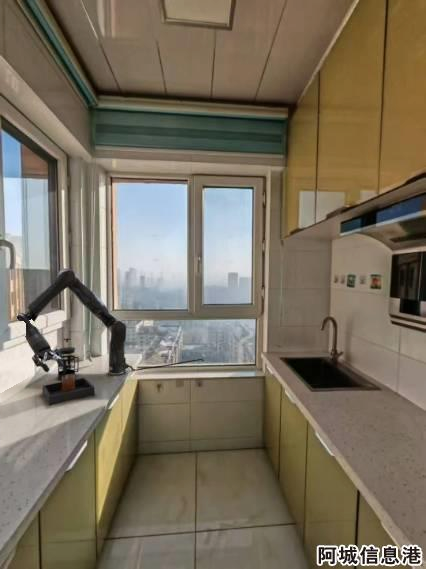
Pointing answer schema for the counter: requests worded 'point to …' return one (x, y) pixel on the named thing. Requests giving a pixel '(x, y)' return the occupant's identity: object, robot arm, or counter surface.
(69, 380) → the brown cup
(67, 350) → the french press
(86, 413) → the counter surface
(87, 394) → the dark square tray
